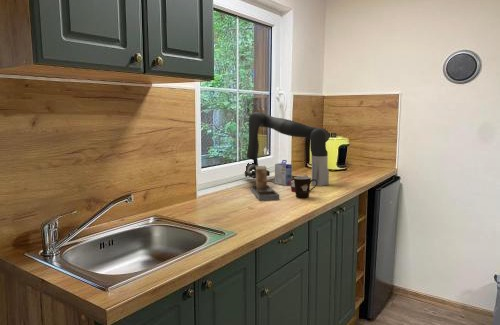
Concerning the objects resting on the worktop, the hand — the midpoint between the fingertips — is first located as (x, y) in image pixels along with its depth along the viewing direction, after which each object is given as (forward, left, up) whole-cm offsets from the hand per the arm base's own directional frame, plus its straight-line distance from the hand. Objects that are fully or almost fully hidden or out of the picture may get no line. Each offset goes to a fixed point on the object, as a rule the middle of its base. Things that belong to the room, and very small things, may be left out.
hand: (259, 175), depth 209 cm
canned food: (-21, +10, -8) cm, 25 cm away
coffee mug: (-19, +26, -8) cm, 33 cm away
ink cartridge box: (-17, -12, -8) cm, 22 cm away
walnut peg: (0, +7, -8) cm, 10 cm away
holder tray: (0, +15, -8) cm, 17 cm away
